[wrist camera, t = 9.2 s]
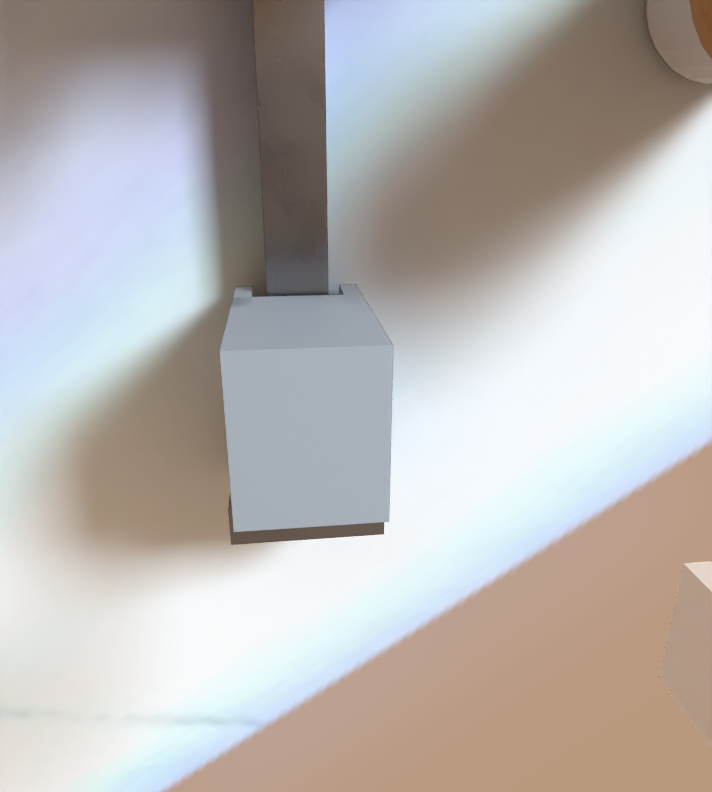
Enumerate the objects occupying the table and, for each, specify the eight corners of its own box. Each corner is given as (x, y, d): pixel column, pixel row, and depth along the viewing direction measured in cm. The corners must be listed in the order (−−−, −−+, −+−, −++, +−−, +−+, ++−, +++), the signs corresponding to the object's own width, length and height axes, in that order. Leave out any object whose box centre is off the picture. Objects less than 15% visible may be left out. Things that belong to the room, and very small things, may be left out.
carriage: (235, 286, 27) (219, 351, 18) (355, 283, 27) (393, 345, 19) (244, 420, 29) (233, 532, 20) (355, 414, 29) (389, 521, 21)
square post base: (236, 441, 30) (228, 508, 24) (363, 435, 31) (384, 499, 25) (238, 472, 30) (231, 544, 25) (363, 465, 31) (383, 534, 26)
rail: (251, -51, 23) (248, -73, 21) (318, -48, 23) (323, -69, 21) (274, 431, 30) (275, 455, 28) (326, 429, 30) (330, 452, 28)
